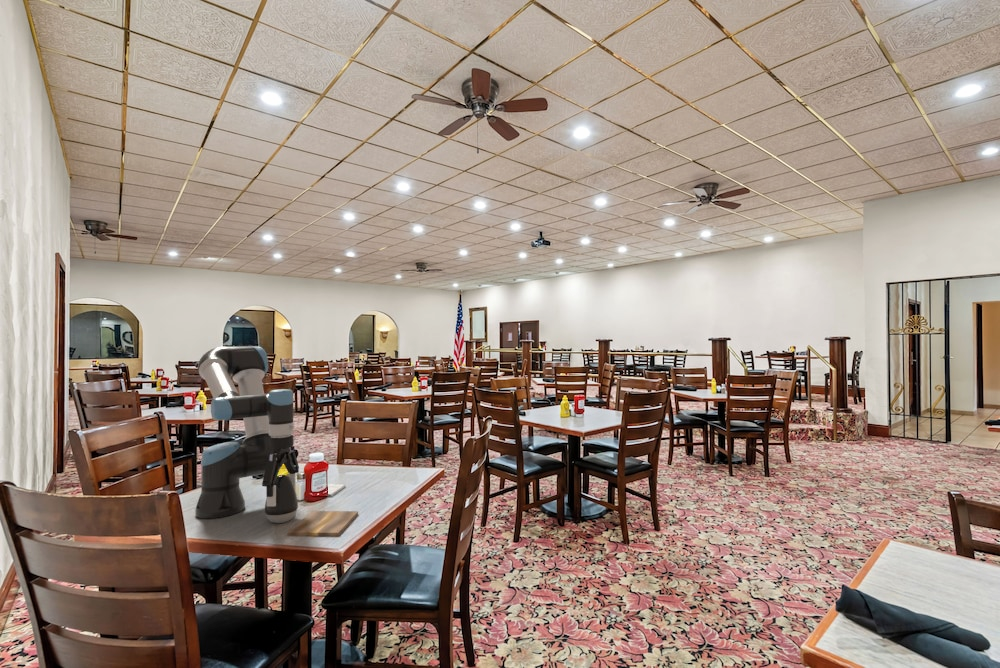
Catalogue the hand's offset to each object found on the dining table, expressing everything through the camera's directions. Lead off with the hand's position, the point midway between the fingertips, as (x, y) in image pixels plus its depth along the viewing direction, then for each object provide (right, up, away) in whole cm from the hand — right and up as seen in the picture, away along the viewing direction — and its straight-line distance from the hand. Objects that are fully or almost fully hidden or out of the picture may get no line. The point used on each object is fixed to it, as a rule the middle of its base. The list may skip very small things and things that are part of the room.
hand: (281, 499), depth 159 cm
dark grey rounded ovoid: (0, -7, 0) cm, 7 cm away
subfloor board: (+16, -7, -3) cm, 18 cm away
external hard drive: (+5, -8, +30) cm, 31 cm away
